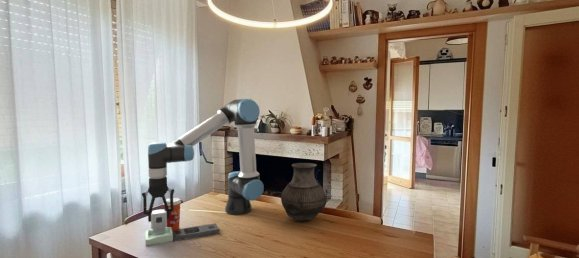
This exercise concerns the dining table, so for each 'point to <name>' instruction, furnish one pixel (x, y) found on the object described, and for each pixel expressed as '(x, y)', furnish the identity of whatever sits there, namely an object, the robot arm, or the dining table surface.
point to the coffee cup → (173, 214)
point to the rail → (202, 231)
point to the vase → (303, 194)
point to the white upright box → (158, 222)
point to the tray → (159, 236)
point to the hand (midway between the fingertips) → (159, 227)
